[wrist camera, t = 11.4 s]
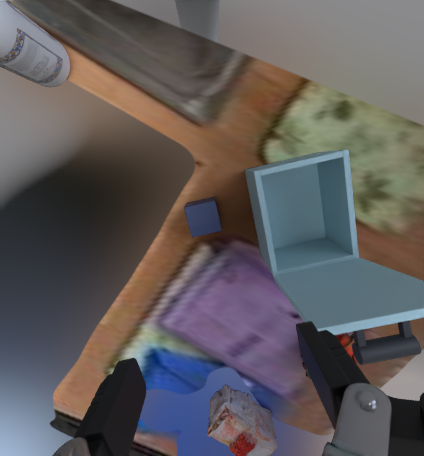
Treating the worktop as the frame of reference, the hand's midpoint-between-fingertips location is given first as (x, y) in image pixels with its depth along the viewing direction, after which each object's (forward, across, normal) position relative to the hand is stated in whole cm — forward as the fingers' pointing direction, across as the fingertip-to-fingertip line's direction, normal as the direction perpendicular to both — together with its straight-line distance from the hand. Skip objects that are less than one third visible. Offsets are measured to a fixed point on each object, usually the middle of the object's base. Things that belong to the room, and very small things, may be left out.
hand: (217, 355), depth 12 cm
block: (+34, +2, -1) cm, 34 cm away
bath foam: (+34, +19, -29) cm, 49 cm away
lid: (+16, -13, +8) cm, 22 cm away
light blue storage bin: (+34, -13, +2) cm, 37 cm away
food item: (+34, +4, +42) cm, 54 cm away
